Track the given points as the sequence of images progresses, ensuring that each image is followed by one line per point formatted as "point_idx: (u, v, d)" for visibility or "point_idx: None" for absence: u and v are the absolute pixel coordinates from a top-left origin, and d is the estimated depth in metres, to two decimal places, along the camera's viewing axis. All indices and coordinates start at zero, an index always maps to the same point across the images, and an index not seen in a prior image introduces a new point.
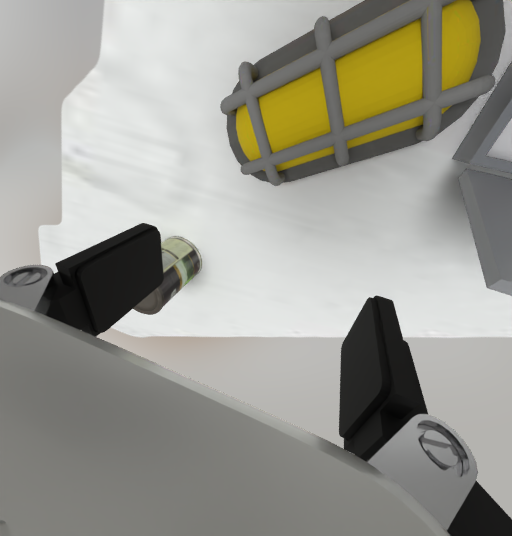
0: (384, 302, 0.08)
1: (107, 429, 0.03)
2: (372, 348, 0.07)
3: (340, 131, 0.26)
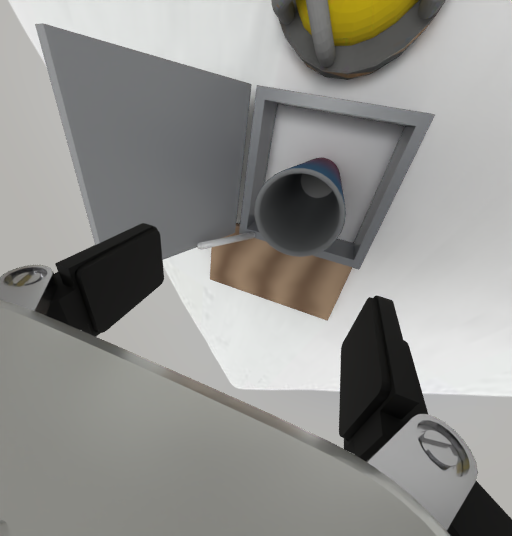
0: (384, 302, 0.08)
1: (107, 429, 0.03)
2: (372, 348, 0.07)
3: None
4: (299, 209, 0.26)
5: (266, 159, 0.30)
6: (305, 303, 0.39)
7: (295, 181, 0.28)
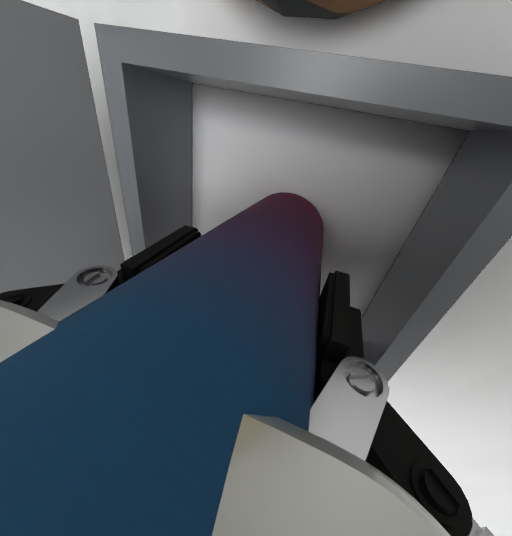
0: (341, 275, 0.09)
1: None
2: (324, 311, 0.08)
3: None
4: None
5: (185, 192, 0.16)
6: None
7: None
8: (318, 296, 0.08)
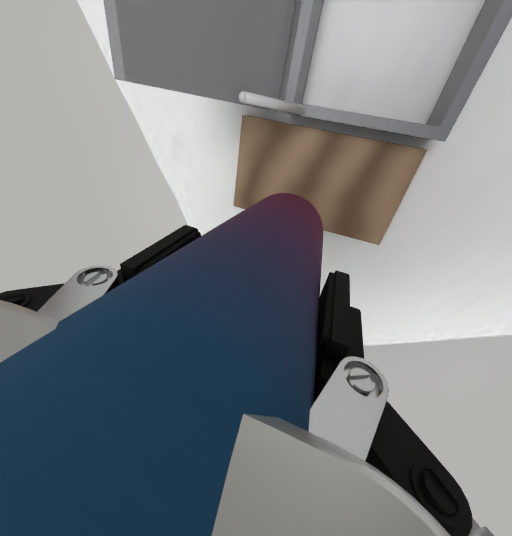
0: (341, 275, 0.09)
1: None
2: (324, 311, 0.08)
3: None
4: None
5: (320, 7, 0.23)
6: (353, 224, 0.32)
7: None
8: (318, 296, 0.08)
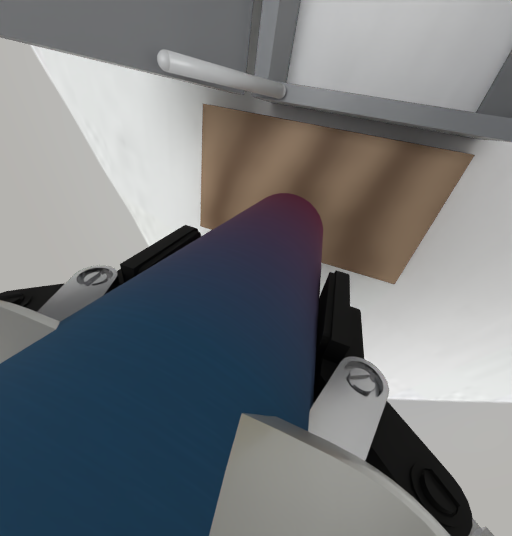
0: (341, 275, 0.09)
1: None
2: (324, 311, 0.08)
3: None
4: None
5: None
6: (358, 256, 0.23)
7: None
8: (318, 297, 0.08)
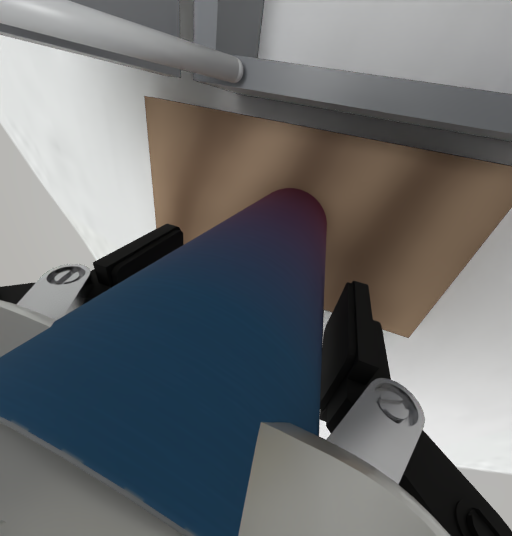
0: (360, 286, 0.09)
1: None
2: (345, 325, 0.07)
3: None
4: None
5: None
6: None
7: None
8: (323, 282, 0.09)
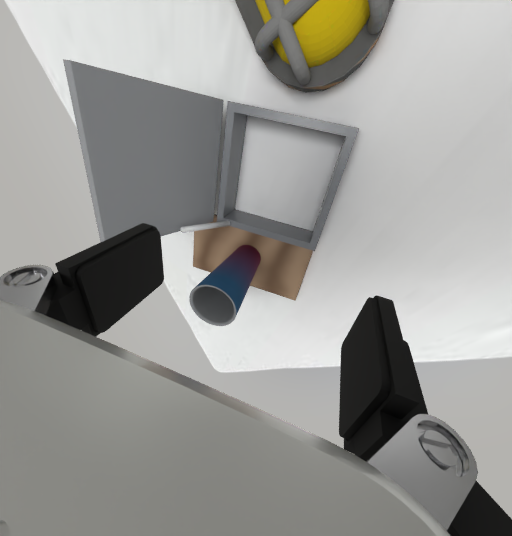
0: (384, 302, 0.08)
1: (107, 429, 0.03)
2: (372, 348, 0.07)
3: None
4: None
5: (239, 160, 0.36)
6: (276, 286, 0.45)
7: None
8: (250, 276, 0.36)
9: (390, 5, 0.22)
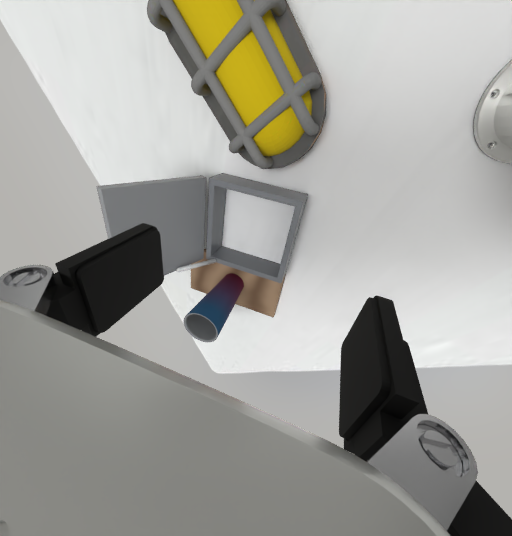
0: (384, 302, 0.08)
1: (107, 429, 0.03)
2: (372, 348, 0.07)
3: (207, 69, 0.29)
4: None
5: (222, 212, 0.46)
6: (257, 305, 0.55)
7: None
8: (232, 302, 0.46)
9: (321, 117, 0.31)
